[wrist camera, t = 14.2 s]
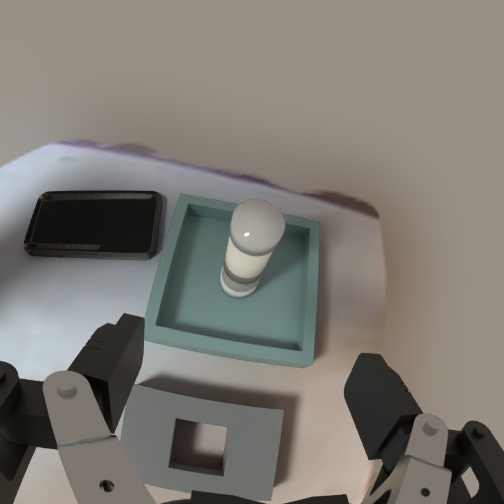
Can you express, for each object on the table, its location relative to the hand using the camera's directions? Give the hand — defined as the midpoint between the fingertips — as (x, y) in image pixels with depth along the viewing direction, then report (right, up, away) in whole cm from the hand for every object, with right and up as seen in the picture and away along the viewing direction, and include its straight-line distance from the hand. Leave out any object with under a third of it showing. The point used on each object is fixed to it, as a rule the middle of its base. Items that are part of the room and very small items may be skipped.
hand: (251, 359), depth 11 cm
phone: (-17, +6, +19) cm, 26 cm away
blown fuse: (-1, +1, +18) cm, 18 cm away
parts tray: (-1, +1, +18) cm, 18 cm away
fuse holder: (-4, -12, +11) cm, 17 cm away
